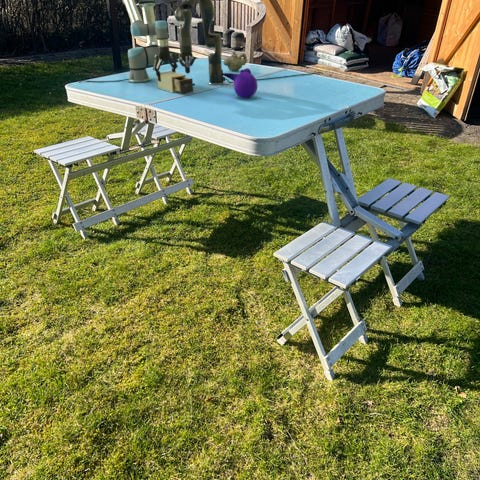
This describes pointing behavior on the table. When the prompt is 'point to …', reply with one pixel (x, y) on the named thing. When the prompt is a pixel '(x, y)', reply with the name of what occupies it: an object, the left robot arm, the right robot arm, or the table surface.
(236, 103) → the table surface
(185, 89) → the drawer
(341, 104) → the table surface
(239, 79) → the toy
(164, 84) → the tan cardboard carton
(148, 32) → the left robot arm
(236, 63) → the teapot
